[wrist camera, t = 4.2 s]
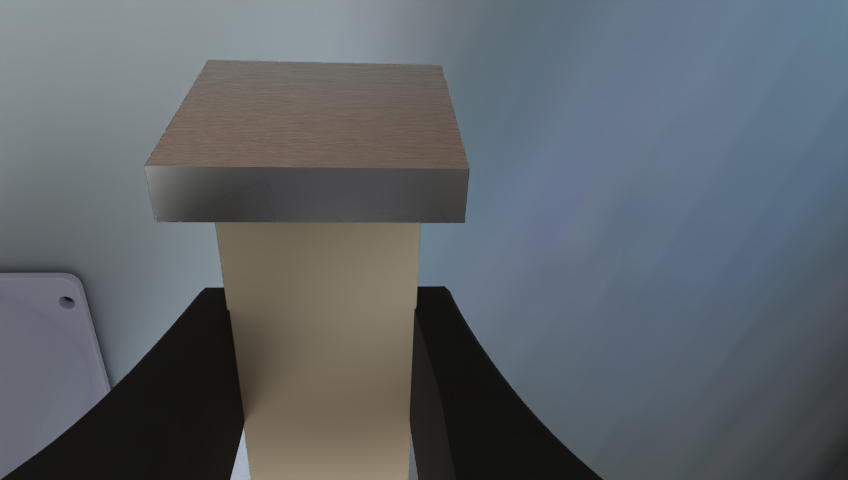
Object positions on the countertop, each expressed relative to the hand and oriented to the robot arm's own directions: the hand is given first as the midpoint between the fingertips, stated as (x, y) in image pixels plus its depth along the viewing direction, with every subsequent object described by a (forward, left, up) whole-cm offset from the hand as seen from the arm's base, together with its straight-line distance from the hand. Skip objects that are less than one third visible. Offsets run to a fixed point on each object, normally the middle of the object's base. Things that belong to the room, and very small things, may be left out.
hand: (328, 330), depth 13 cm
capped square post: (-2, 0, -2) cm, 2 cm away
